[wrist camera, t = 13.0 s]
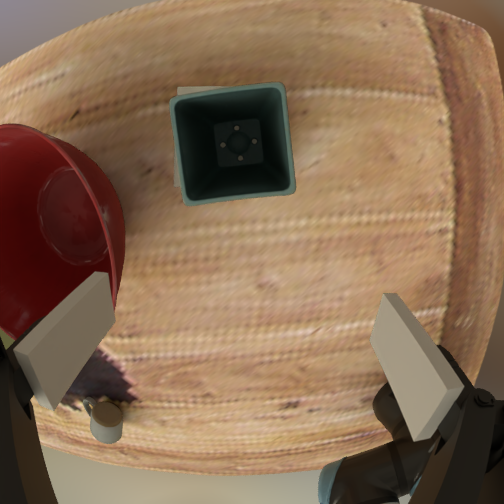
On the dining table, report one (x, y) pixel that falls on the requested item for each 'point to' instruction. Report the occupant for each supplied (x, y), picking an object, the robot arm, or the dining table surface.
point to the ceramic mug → (104, 420)
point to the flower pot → (233, 143)
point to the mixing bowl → (52, 225)
